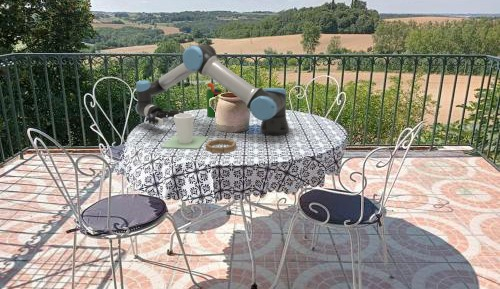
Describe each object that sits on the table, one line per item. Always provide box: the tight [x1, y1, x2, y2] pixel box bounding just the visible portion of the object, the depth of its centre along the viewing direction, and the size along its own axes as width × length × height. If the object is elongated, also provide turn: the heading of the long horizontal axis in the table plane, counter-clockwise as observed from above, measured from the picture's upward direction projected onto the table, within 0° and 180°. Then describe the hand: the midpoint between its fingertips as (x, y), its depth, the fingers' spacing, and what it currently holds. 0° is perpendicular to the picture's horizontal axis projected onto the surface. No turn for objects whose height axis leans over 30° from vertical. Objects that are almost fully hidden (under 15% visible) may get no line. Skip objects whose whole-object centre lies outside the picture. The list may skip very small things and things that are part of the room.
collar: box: [205, 138, 237, 154], centre depth 182 cm, size 13×13×2 cm
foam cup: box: [173, 112, 195, 144], centre depth 189 cm, size 10×9×13 cm
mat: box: [161, 135, 209, 150], centre depth 191 cm, size 18×18×1 cm
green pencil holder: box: [205, 82, 222, 119], centre depth 238 cm, size 10×9×20 cm
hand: (174, 119), depth 194 cm, fingers open, 13 cm apart
